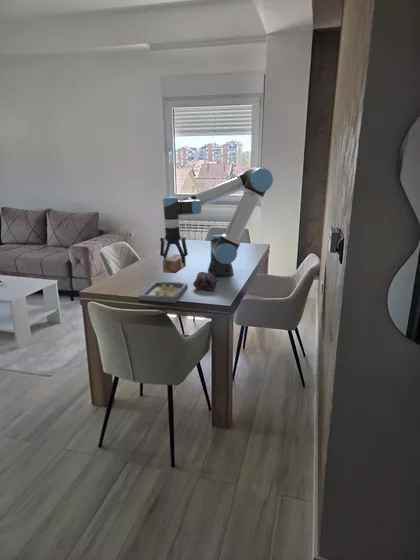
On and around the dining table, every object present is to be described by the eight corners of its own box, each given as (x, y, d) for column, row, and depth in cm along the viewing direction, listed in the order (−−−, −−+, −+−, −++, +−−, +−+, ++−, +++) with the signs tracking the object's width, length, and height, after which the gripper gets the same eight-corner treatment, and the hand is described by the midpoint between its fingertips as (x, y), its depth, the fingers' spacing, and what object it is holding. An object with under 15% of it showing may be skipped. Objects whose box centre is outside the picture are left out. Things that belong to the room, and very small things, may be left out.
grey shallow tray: (187, 288, 200) (187, 282, 199) (175, 302, 180) (175, 296, 179) (155, 285, 204) (155, 280, 203) (139, 300, 183) (139, 294, 182)
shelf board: (185, 266, 213) (185, 254, 211) (175, 273, 200) (174, 261, 198) (174, 265, 215) (173, 254, 213) (163, 272, 202) (162, 260, 200)
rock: (212, 295, 193) (218, 288, 202) (214, 280, 190) (220, 273, 199) (191, 289, 196) (198, 283, 205) (193, 274, 193) (200, 268, 202)
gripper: (192, 225, 202) (194, 266, 209) (156, 225, 206) (159, 265, 213) (188, 228, 195) (191, 270, 202) (151, 227, 199) (154, 269, 206)
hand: (174, 268), depth 207 cm, fingers closed on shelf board, 7 cm apart
